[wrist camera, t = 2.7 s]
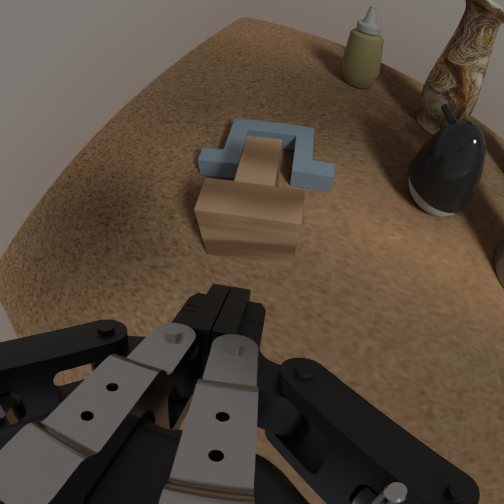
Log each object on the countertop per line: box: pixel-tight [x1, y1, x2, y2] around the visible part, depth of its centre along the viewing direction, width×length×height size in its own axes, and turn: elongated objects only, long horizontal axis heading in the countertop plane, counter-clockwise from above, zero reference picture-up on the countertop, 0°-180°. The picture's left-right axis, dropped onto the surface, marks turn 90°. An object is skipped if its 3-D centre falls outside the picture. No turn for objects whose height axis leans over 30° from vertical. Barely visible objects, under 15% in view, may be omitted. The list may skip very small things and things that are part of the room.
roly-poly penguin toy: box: [409, 104, 486, 217], centre depth 34 cm, size 10×10×15 cm
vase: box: [416, 0, 504, 135], centre depth 37 cm, size 10×11×30 cm
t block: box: [194, 136, 305, 267], centre depth 35 cm, size 11×10×9 cm
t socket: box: [198, 118, 334, 192], centre depth 43 cm, size 10×18×3 cm, turn 80°
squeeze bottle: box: [341, 7, 384, 88], centre depth 48 cm, size 8×8×18 cm
